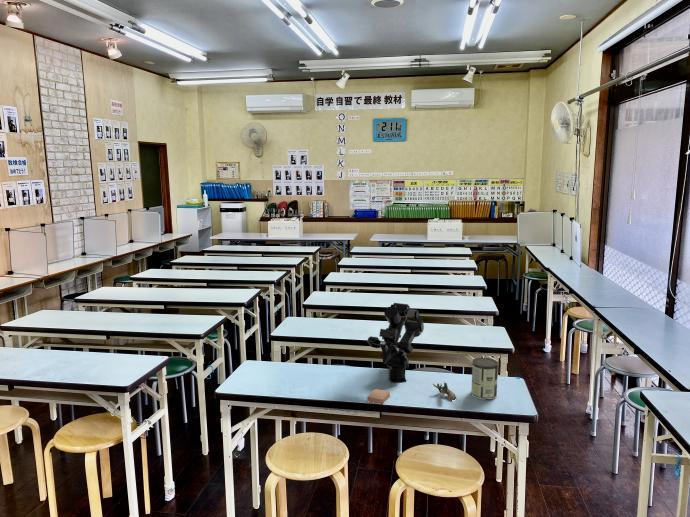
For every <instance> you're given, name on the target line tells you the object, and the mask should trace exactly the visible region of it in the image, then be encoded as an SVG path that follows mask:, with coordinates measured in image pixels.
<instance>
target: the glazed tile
mask: <svg viewBox="0 0 690 517" xmlns="http://www.w3.org/2000/svg"><path fill="white" fill-rule="evenodd" d="M366 397H367V401H369V402H368V403H372V402H374V403H373V404H377V403H380V404H379V405H381V404H383V403H384V402H385V401H386V400H389V399H390V398H391V391H388V390H382V389H377V388H375V389H373V390H372V391H371V393H369V394H368V395H367V396H366ZM386 402H387V401H386ZM386 402H385V403H386ZM385 403H384V404H385ZM384 404H383V405H384Z"/></svg>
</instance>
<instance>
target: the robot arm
mask: <svg viewBox="0 0 690 517" xmlns="http://www.w3.org/2000/svg"><path fill="white" fill-rule="evenodd" d="M383 313H384V316H385V319H386V320H387V323H388V324H389V325H388V327H386V329H384V328H380V329H379V337H380V338H381V339H382V340H380V338H379V337H377V336H371V335H370V336H369V337H368V338H367V343H368V345H369V346H370V347H371V348H372V349H381V354H382V364H383V365H385V364H386V366H387V367H389V368H388V379H389V380H390V382H392V383H401V382H402V383H403V382H407V379H406V370H407V369H408V368H409V358H408V357H407V354H409V355H410V354H412V353H413V349H414V348H413V346H412V345H411V344H412V342H413V341H414V339H415V338H418V337H420V336H421V335H422V333H423V332H424V328H425V325H424V319H423V318H422V317H421V316H420V314H419V310H417V309H415V308H411V306H410V305H409V304H408V303H400V302H393V304H392V303H391V305H390V306H388V307H387V308H385V309H384V312H383ZM404 318H405V319H404ZM408 318H410V319H415V321H414V320H409V319H408ZM403 327H404V329H405V332H404V334H403V335H402V334H401V333H402V330H403Z"/></svg>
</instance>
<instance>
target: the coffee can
mask: <svg viewBox="0 0 690 517" xmlns="http://www.w3.org/2000/svg"><path fill="white" fill-rule="evenodd" d="M471 363H472V366H471V370H472V371H471V392H470V393H471V396H472V395H473V396H472V397H474V396H475V397H477V398H476V399H478V398H481V399H480V400H482V399H492V400H495V399H496V398H497V396H498V374H499V372H498V371H499V361H497V360H495V359H493V358H491V357H490V358H489V357H475V358H473V359H472V362H471ZM475 397H474V398H475ZM494 398H495V399H494Z"/></svg>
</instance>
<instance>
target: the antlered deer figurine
mask: <svg viewBox="0 0 690 517" xmlns="http://www.w3.org/2000/svg"><path fill="white" fill-rule="evenodd" d="M432 385H433V387H435V389H437V390H438V392H439V393H440V394H441V395H440V398H441V397H442V398H443V397H444V396H445V395H447V398H448V401H449V402H452V400H455V399H456V400H457V396H456V395H455V393H454V392H453V391H452V390H450V389H449V385H448V383H447V381H443V384H442V383H440V384H439V383H438V382H437V384H434V383H432Z"/></svg>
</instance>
